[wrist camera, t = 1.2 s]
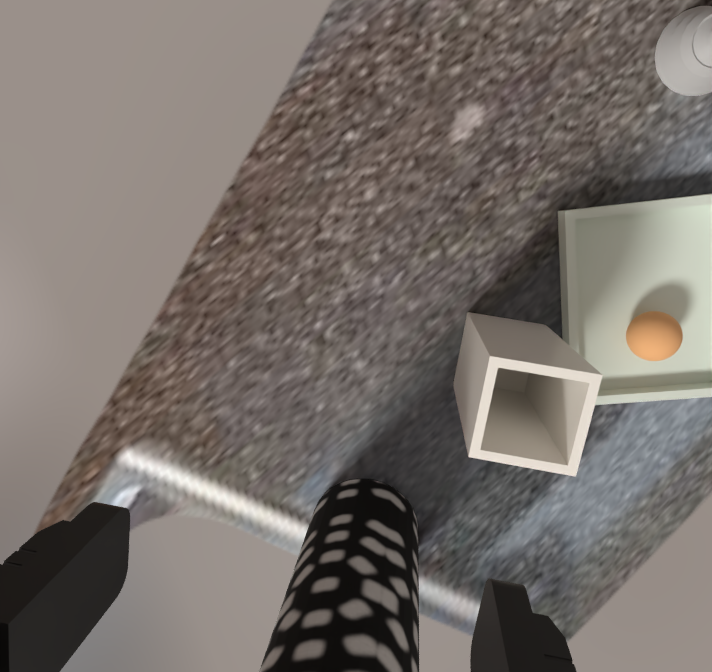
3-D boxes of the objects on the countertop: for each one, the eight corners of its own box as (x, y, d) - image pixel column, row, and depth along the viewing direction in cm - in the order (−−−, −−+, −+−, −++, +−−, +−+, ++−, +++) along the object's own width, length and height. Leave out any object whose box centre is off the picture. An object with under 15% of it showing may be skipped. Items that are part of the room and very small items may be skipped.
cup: (467, 312, 38) (489, 355, 27) (545, 324, 38) (602, 374, 26) (453, 384, 39) (468, 456, 28) (528, 397, 39) (575, 476, 27)
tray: (557, 211, 36) (564, 211, 34) (723, 192, 35) (740, 191, 33) (564, 397, 39) (571, 406, 37) (719, 386, 37) (733, 395, 36)
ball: (627, 371, 36) (615, 328, 37) (679, 367, 35) (664, 324, 37) (641, 349, 33) (627, 304, 35) (697, 344, 33) (681, 299, 34)
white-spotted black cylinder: (328, 582, 44) (260, 871, 25) (299, 490, 43) (201, 722, 23) (429, 564, 43) (440, 856, 23) (403, 469, 41) (391, 696, 22)
